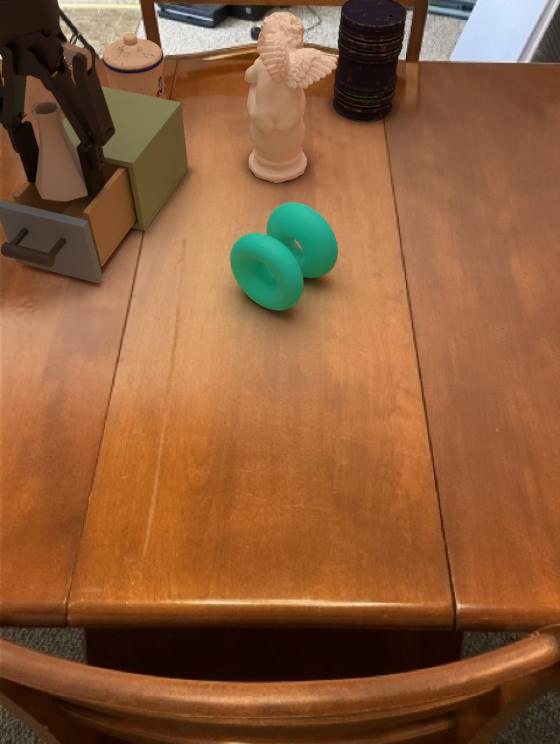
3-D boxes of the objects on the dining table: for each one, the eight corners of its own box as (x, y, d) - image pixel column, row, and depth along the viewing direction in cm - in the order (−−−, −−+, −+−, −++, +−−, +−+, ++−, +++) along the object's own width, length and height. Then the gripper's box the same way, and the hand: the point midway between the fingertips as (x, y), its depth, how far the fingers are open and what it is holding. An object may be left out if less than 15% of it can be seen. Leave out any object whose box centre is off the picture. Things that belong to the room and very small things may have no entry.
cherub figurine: (267, 138, 104) (268, -14, 87) (342, 160, 101) (358, 6, 84) (230, 181, 98) (223, 26, 80) (309, 206, 95) (319, 49, 77)
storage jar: (320, 108, 110) (327, 13, 98) (351, 83, 115) (361, -11, 103) (373, 129, 107) (387, 33, 95) (403, 102, 112) (420, 7, 100)
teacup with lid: (171, 121, 107) (162, 48, 98) (112, 126, 106) (98, 52, 97) (166, 82, 114) (157, 10, 105) (111, 86, 113) (97, 14, 104)
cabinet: (145, 231, 91) (132, 163, 82) (61, 211, 93) (41, 142, 85) (188, 169, 99) (181, 102, 91) (110, 152, 102) (96, 85, 93)
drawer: (80, 308, 81) (63, 252, 74) (-4, 285, 83) (-28, 228, 76) (146, 216, 91) (136, 160, 84) (70, 198, 93) (54, 141, 86)
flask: (98, 200, 79) (79, 123, 72) (34, 206, 79) (8, 128, 71) (97, 164, 84) (80, 87, 76) (37, 169, 83) (13, 92, 75)
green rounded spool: (226, 291, 84) (222, 228, 76) (276, 248, 89) (277, 185, 81) (291, 328, 80) (294, 266, 72) (339, 282, 85) (346, 218, 77)
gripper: (-109, -25, 63) (-25, 183, 81) (87, 11, 59) (129, 220, 77) (-59, -55, 67) (9, 149, 85) (126, -23, 63) (157, 182, 81)
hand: (66, 182), depth 81 cm, fingers closed on flask, 7 cm apart
